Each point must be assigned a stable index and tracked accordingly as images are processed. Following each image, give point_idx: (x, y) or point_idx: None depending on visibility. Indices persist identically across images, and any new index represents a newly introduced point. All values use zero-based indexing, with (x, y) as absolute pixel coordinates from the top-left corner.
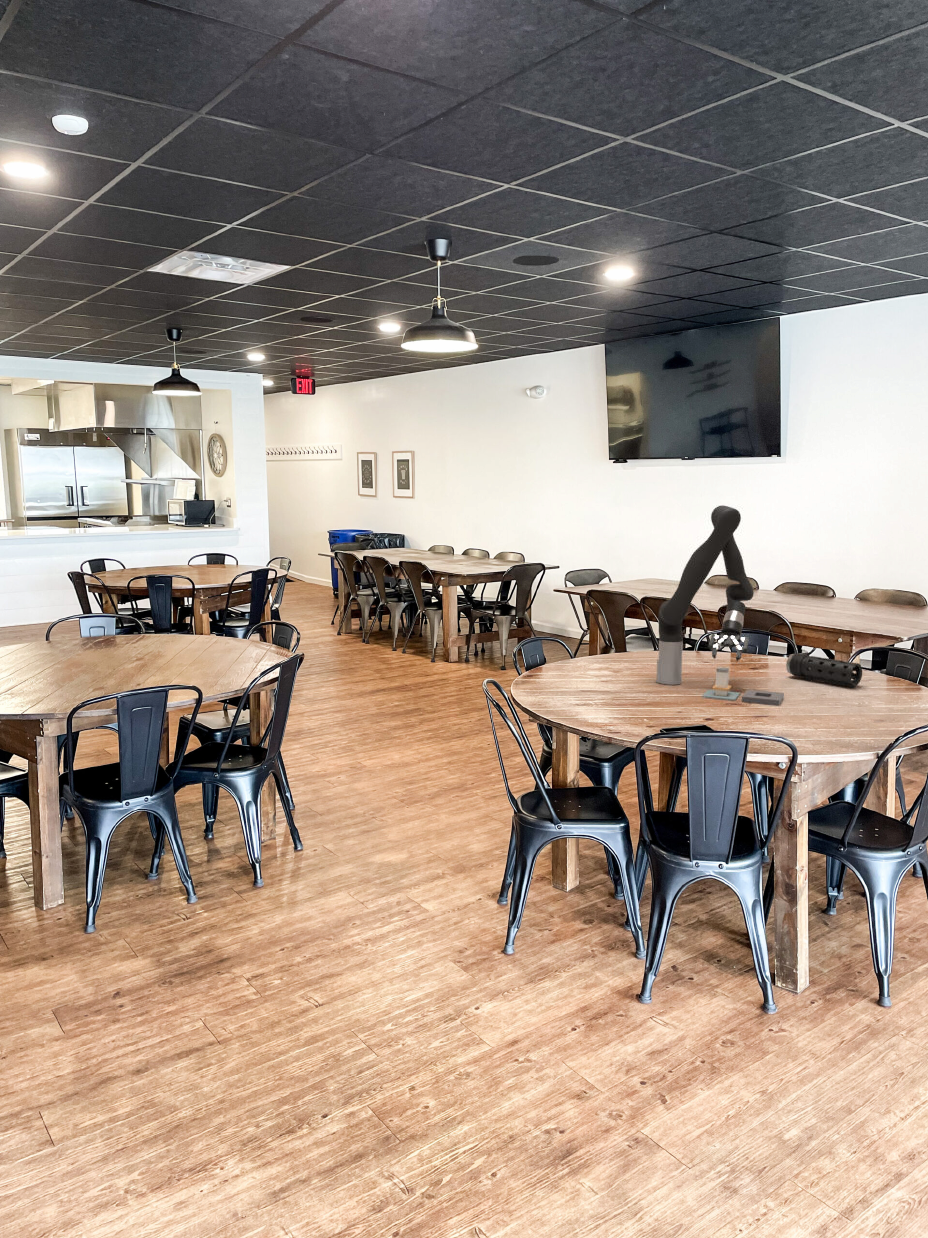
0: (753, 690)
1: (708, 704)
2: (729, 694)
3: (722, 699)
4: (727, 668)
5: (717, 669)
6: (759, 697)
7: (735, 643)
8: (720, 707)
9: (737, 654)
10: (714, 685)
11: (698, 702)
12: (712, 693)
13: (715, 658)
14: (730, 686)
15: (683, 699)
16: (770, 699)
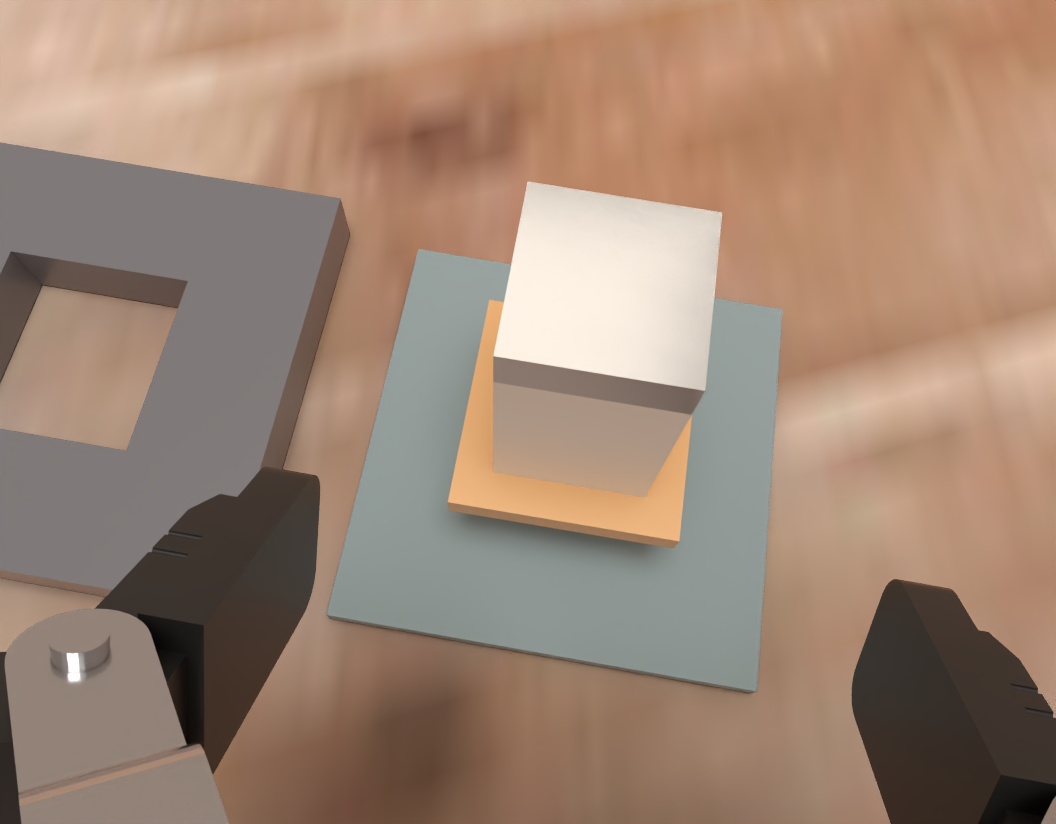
0: None
1: (677, 76)
2: None
3: None
4: (524, 286)
5: (697, 215)
6: (143, 205)
7: (196, 812)
8: (563, 5)
9: (252, 520)
10: (682, 449)
11: (779, 123)
12: None
13: (854, 695)
14: (463, 446)
15: (942, 199)
16: (35, 149)
